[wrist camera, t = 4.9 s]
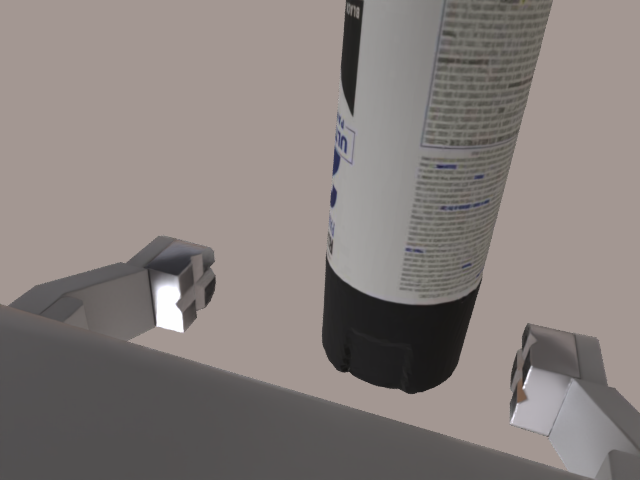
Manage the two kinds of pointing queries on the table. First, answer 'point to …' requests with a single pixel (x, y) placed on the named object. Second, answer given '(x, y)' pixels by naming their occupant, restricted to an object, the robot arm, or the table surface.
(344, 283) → the spray can
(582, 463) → the robot arm
